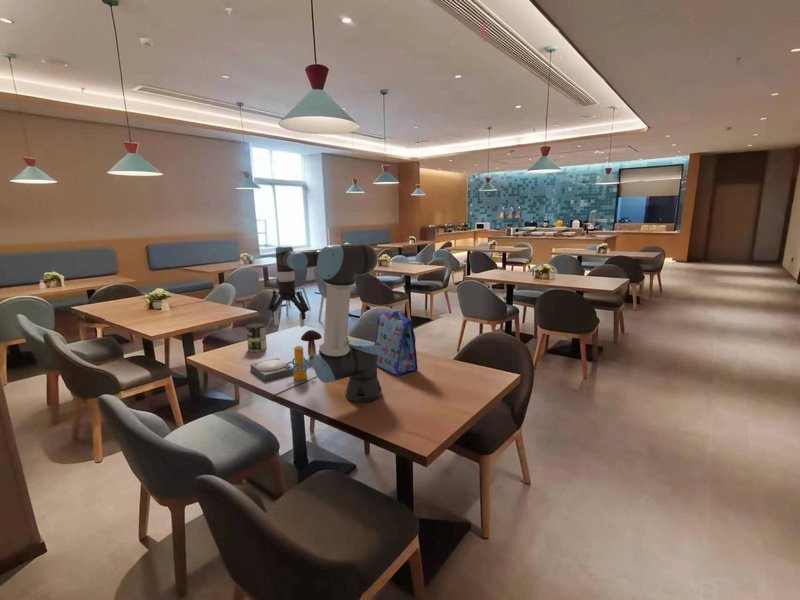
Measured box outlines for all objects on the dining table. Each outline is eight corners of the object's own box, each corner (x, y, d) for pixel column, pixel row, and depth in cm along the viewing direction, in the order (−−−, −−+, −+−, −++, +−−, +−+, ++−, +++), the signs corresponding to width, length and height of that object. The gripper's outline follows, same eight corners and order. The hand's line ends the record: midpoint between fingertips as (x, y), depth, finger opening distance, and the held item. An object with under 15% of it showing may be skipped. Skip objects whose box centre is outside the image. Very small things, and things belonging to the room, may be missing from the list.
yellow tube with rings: (305, 384, 179) (303, 352, 176) (283, 382, 181) (281, 351, 178) (316, 373, 191) (314, 344, 188) (295, 372, 193) (294, 342, 190)
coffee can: (252, 353, 221) (250, 328, 218) (245, 348, 228) (243, 324, 225) (270, 348, 227) (268, 325, 225) (262, 344, 235) (260, 321, 232)
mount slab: (293, 373, 191) (293, 366, 191) (265, 381, 182) (264, 373, 182) (277, 363, 205) (277, 356, 204) (250, 370, 196) (250, 363, 195)
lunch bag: (418, 370, 195) (418, 313, 189) (396, 377, 187) (395, 317, 181) (392, 358, 212) (391, 305, 206) (370, 364, 204) (369, 309, 198)
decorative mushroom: (301, 361, 207) (300, 333, 204) (301, 354, 218) (300, 328, 215) (323, 359, 210) (321, 332, 207) (322, 353, 220) (321, 326, 217)
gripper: (314, 279, 182) (317, 325, 186) (268, 278, 189) (271, 322, 193) (306, 282, 175) (309, 329, 179) (258, 280, 182) (261, 325, 186)
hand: (289, 325), depth 186 cm, fingers open, 13 cm apart
